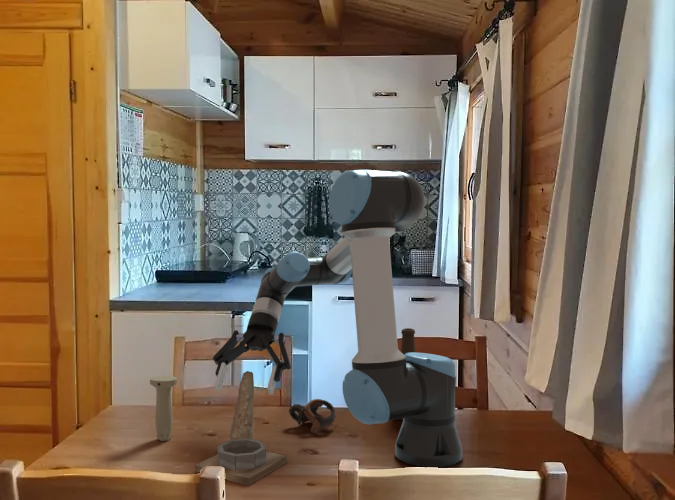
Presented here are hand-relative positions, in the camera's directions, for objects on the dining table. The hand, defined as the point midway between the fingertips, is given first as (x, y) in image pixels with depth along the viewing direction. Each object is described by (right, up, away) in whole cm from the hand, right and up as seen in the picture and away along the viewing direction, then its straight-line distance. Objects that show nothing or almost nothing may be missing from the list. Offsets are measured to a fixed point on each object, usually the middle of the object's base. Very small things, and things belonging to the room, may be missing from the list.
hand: (243, 390), depth 160 cm
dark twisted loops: (+16, -12, +9) cm, 22 cm away
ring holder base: (+2, -13, -18) cm, 22 cm away
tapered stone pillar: (0, -12, -3) cm, 13 cm away
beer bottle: (+42, -11, +18) cm, 47 cm away
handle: (-19, -12, 0) cm, 23 cm away
